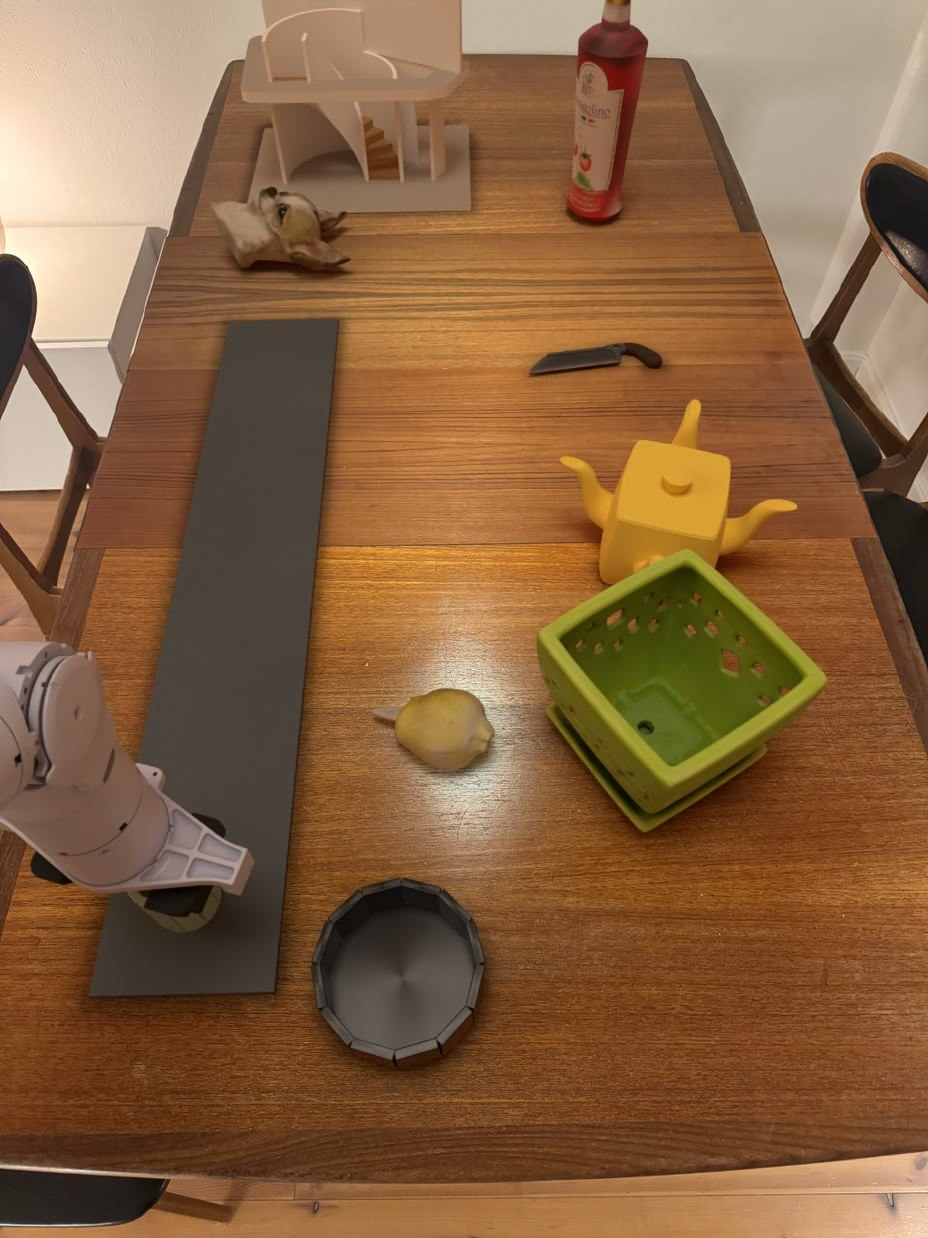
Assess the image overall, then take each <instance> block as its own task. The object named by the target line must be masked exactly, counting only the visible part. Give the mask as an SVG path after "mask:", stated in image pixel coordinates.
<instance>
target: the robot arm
mask: <svg viewBox="0 0 928 1238" xmlns="http://www.w3.org/2000/svg"><path fill="white" fill-rule="evenodd" d="M115 723H116V718H115V717H114V716H113V715H112V713H111V712H110V710H109V708H108V706H107V702H106V698H105V689H104V681H103V675H102V671H101V667H100V664H99V661H98V659H97V657H96V655H95V653H94V652H93V650H88V652H87V654H86V652H79V651H77V652H76V650H75V649H74V648H73V647H71V646H70V645H69V644H67V643H62V642H61V641H40V640H39V641H36V640H35V641H33V640H7V639H5V640H3V639H0V830H2V831H6V832H10V833H14V834H16V835H17V836H18V837H20V839H22V840H23V841H25V843H27V844H28V845H29V846H30V847H31V848H33V849H34V850H35V851H34V853H33V855H32V856H31V860H30V866H29V867H30V871H31V873H32V874H33V876H35V878H38V879H40V880H44V881H47V882H50V883H54V884H57V885H61V886H67V885H70V884H75V885H77V886H78V887H79V888H82V889H84V890H85V891H88V892H91V893H96V894H97V893H98V894H110V893H118V892H129V891H140V890H151V891H150V894H149V896H148V898H147V900H146V902H145V904H144V908H145V909H148V910H151V911H155V912H158V913H162V914H165V915H169V916H173V917H188V916H189V915H190V913H194V914H200V913H202V911H203V909H204V907H205V904H206V902H207V900H208V897H209V895H210V893H211V890H212V888H213V886H214V885H219V886H221V887H222V888H223V890H224V891H226V892H228V893H232V894H235V895H239V896H240V895H241V894H242V891H243V889H244V886H245V884H246V882H247V880H248V877H249V875H250V871H251V869H252V867H253V865H254V862H255V861H254V859H253V857H252V856H251V854H250V853H249V851H248V849H247V848H244V847H241V846H238V845H235V844H233V843H230V842H228V841H226V840H225V839H224V836H225V833H226V829H225V827H224V826H223V824H222V823H221V822H220V821H219V820H217V819H215V818H212V817H208V816H204V815H201V814H197V813H192V814H190V813H188V812H187V811H186V810H184V809H183V808H182V807H180V806H179V805H178V804H176V803H175V802H174V801H172V800H171V799H170V798H169V797H167V796H166V795H165V794H163V793H162V787H163V785H164V783H165V779H166V777H165V775H164V773H163V772H162V770H160V769H159V768H156V767H153V766H149V765H145V764H141V763H137V762H136V763H135V762H134V760H133V759H132V758H131V757H130V755H129V753H127V751H126V750H125V749H124V747H123V746H122V745H121V744H120V742H119V741H118V740H117V734H118V731H117V727H116V726H115V725H116V724H115Z"/></svg>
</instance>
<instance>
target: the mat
mask: <svg viewBox="0 0 928 1238" xmlns="http://www.w3.org/2000/svg"><path fill="white" fill-rule="evenodd" d="M339 328H340V319H339V318H311V319H309V318H308V319H304V318H303V319H265V320H262V319H261V320H229V321H228V324H227V329H226V334H225V339H224V343H223V348H222V353H221V358H220V362H219V367H218V372H217V376H216V382H215V387H214V392H213V395H212V396H213V397H212V401H211V405H210V411H209V415H208V420H207V424H206V429H205V435H204V438H203V445H202V448H201V453H200V458H199V463H198V468H197V473H196V478H195V483H194V487H193V491H192V497H191V502H190V507H189V512H188V515H187V520H186V526H185V530H184V534H183V535H184V536H183V539H182V545H181V549H180V554H179V559H178V565H177V569H176V574H175V579H174V583H173V588H172V593H171V596H170V603H169V607H168V613H167V616H166V617H167V618H166V622H165V627H164V632H163V637H162V641H161V646H160V652H159V654H158V655H159V656H158V660H157V665H156V671H155V675H154V680H153V684H152V689H151V695H150V699H149V702H148V703H149V704H148V708H147V714H146V718H145V723H144V728H143V733H142V737H141V742H140V747H139V752H138V756H137V762H136V763H141V764H145V765H149V766H153V767H156V768H159V769H160V770H162V772H163V773H164V775H165V777H166V779H165V783H164V785H163V787H162V793H163V794H165V795H166V796H167V797H169V798H170V799H171V800H172V801H174V802H175V803H176V804H178V805H179V806H180V807H182V808H183V809H184V810H186V811H187V812H188V813H190V814H192V813H197V814H201V815H204V816H208V817H212V818H215V819H217V820H219V821H220V822H221V823H222V824H223V826H224V827H225V829H226V833H225V836H224V839H225V840H226V841H228V842H230V843H233V844H235V845H238V846H241V847H244V848H247V849H248V851H249V853H250V854H251V856H252V857H253V859H254V861H255V862H254V865H253V867H252V869H251V871H250V875H249V877H248V880H247V882H246V884H245V886H244V889H243V891H242V894H241V895H240V896H239V895H235V894H232V893H228V892H226V891H224V890H223V888H222V887H221V900H220V904H219V907H218V909H217V911H216V913H215V914H214V916H213V917H212V918H211V919H210V920H209V921H208V922H207V923H206V924H205V925H204V926H202V927H200V928H199V929H196V930H194V931H191V932H186V933H178V932H173V931H170V930H168V929H165V928H163V927H162V926H161V925H160V924H159V923H158V922H156V921H155V920H154V919H153V918H152V917H151V916H150V915H148V914H147V913H146V912H145V911H144V910H143V909H142V908H141V907H139V906H138V905H137V904H136V903H135V902H134V900H133V899H132V898H131V897H130V895H129V894H128V893H127V892H118V893H109V896H108V900H107V905H106V910H105V915H104V916H105V917H104V920H103V925H102V929H101V934H100V939H99V945H98V948H97V953H96V959H95V962H94V963H95V964H94V968H93V973H92V978H91V982H90V987H89V993H88V997H89V998H90V999H103V998H104V999H106V998H110V999H111V998H145V997H147V998H149V997H185V996H225V995H228V996H229V995H264V994H266V995H267V994H270V995H271V994H276V992H277V983H278V982H277V981H278V973H279V972H278V970H279V962H280V951H281V939H282V931H283V930H282V929H283V917H284V908H285V897H286V895H285V894H286V888H287V887H286V886H287V876H288V867H289V857H290V855H289V854H290V844H291V834H292V826H293V825H292V823H293V812H294V801H295V800H294V799H295V793H296V791H295V790H296V780H297V771H298V760H299V749H300V739H301V730H302V729H301V728H302V719H303V710H304V709H303V707H304V699H305V698H304V697H305V696H304V695H305V686H306V676H307V666H308V655H309V644H310V634H311V633H310V632H311V623H312V612H313V602H314V593H315V592H314V590H315V583H316V571H317V570H316V569H317V559H318V551H319V550H318V549H319V537H320V529H321V528H320V527H321V526H320V525H321V519H322V509H323V508H322V506H323V497H324V485H325V475H326V465H327V456H328V455H327V454H328V444H329V435H330V433H329V432H330V424H331V412H332V411H331V410H332V401H333V392H334V383H335V381H334V380H335V370H336V359H337V350H338V349H337V348H338V339H339V330H340V329H339Z"/></svg>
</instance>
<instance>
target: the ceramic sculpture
mask: <svg viewBox="0 0 928 1238" xmlns="http://www.w3.org/2000/svg"><path fill="white" fill-rule="evenodd" d="M210 210H211V213H212V215H213V218H214V221H215V224H216V227H217V230H218V233H219V236H220V238H221V240H222V241H223V242H224V244H225V245H226V246H227V248H229V250H230V251H231V253H232V254H233V256H234V258H235V259H236V261H237V263H238V265H239V266H241V267H242V268H244V269H246V268H249V267H251V266H252V265H253V264H254V263H255V262H257V261H274V262H281V263H283V262H284V263H296V264H298V265H301V266H304V267H306V268H309V269H312V270H314V271H315V270H316V271H322V270H327V269H331V268H335V267H338V266H341V265H345V264H347V263H349V262H351V257H349V256H346V255H344V254H342V253H340V252H339V251H338V250H337V249H336V248H335V247H334V246H333V245H332V244H330V243H328V242H325V241H323V240H322V234H324V233H328V232H329V231H331V230H332V229H333V228H335V227H337V226H338V225H339V224H340V223H341V222H343V220H344V219H345V218H347V216H348V213H347V212H345V211H342V212H337V213H329V212H327V211H324V210H319V209H318V208H316V207H315V205H314V204H313V203H312V202H311V201H310V200H308V199H307V198H306V197H305V196H303V195H301V194H299V193H289V192H287V191H286V192H279V193H278V191H277V189H276V188H275V187H269V188H265V189H262V190H261V191H260V192H258V193H256V195H255V196H254V199H253V200H252V202H251V203H250V204H247V203H242V202H239V201H238V202H237V201H232V200H224V201H219V202H217V201H212V202H210Z"/></svg>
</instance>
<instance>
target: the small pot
mask: <svg viewBox="0 0 928 1238" xmlns="http://www.w3.org/2000/svg"><path fill="white" fill-rule="evenodd" d="M150 891H151V890H140V891H129V892H127V893H128V894H129V895H130V897H131V898H132V899H133V900H134V902H135V903H136V904H137V905H138V906H139V907H141V908H142V909H143V910H144V911H145V912H146V913H147V914H148V915H150V916H151V917H152V918H153V919H154V920H155V921H156V922H158V923H159V924H160V925H161V926H162V927H163V928H165V929H168V930H170V931H173V932H178V933H186V932H191V931H194V930H196V929H199V928H200V927H202V926H204V925H205V924H206V923H207V922H208V921H209V920H210V919H211V918H212V917H213V916H214V914H215V913H216V911H217V909H218V907H219V904H220V900H221V886H219V885H214V886H213V888H212V890H211V893H210V895H209V897H208V900H207V902H206V904H205V907H204V909H203V911H202V913H200V914H194V913H190V915H189V916H188V917H173V916H169V915H165V914H162V913H158V912H155V911H151V910H148V909H145V908H144V904H145V902H146V900H147V898H148V896H149V894H150Z"/></svg>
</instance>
